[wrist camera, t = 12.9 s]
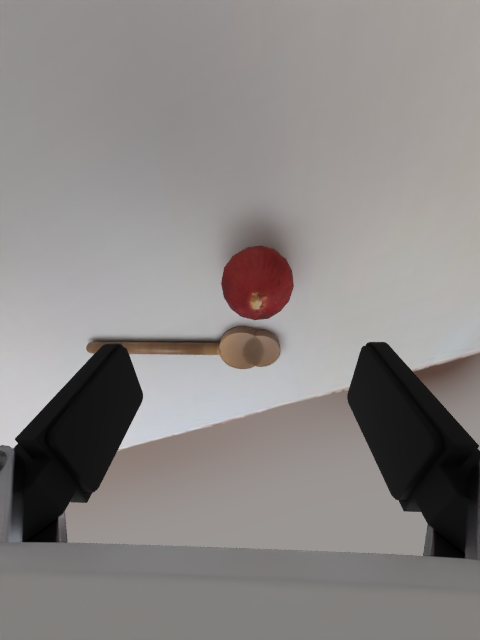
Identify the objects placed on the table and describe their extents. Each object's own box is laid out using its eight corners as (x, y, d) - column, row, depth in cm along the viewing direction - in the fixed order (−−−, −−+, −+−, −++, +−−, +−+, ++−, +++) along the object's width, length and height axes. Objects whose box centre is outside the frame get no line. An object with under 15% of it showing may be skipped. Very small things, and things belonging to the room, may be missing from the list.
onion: (288, 294, 23) (303, 339, 16) (232, 300, 23) (223, 347, 16) (285, 233, 20) (301, 256, 13) (221, 243, 21) (204, 270, 14)
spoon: (98, 360, 29) (92, 367, 28) (83, 325, 26) (75, 332, 25) (278, 362, 27) (279, 371, 26) (280, 326, 25) (282, 333, 23)
